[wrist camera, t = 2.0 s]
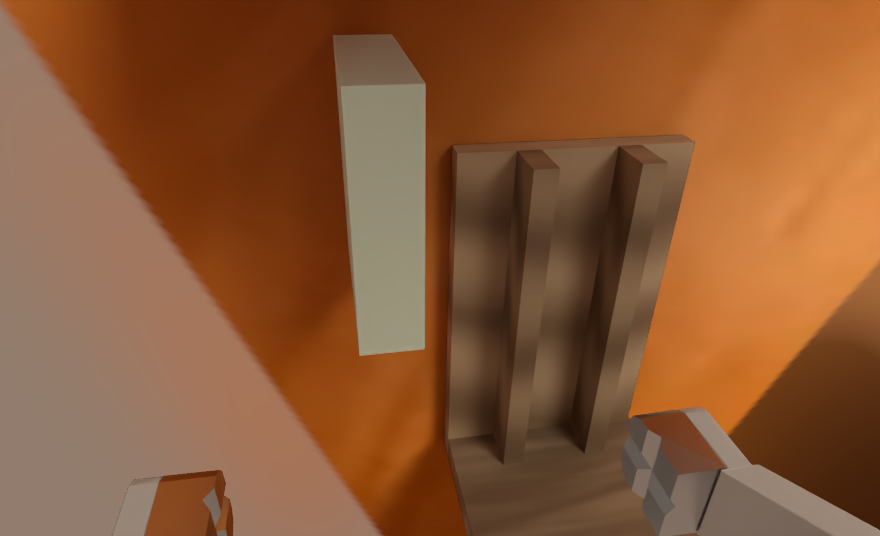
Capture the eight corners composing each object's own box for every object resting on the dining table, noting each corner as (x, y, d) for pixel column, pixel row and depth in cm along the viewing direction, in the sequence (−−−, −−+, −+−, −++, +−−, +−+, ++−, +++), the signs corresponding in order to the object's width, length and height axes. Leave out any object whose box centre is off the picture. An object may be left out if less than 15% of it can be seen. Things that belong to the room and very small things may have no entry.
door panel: (332, 34, 25) (340, 85, 17) (392, 34, 25) (425, 83, 17) (348, 244, 30) (359, 355, 22) (397, 240, 30) (424, 349, 22)
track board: (452, 144, 28) (552, 310, 16) (682, 134, 30) (923, 275, 18) (444, 442, 38) (502, 677, 26) (616, 419, 40) (742, 629, 28)
